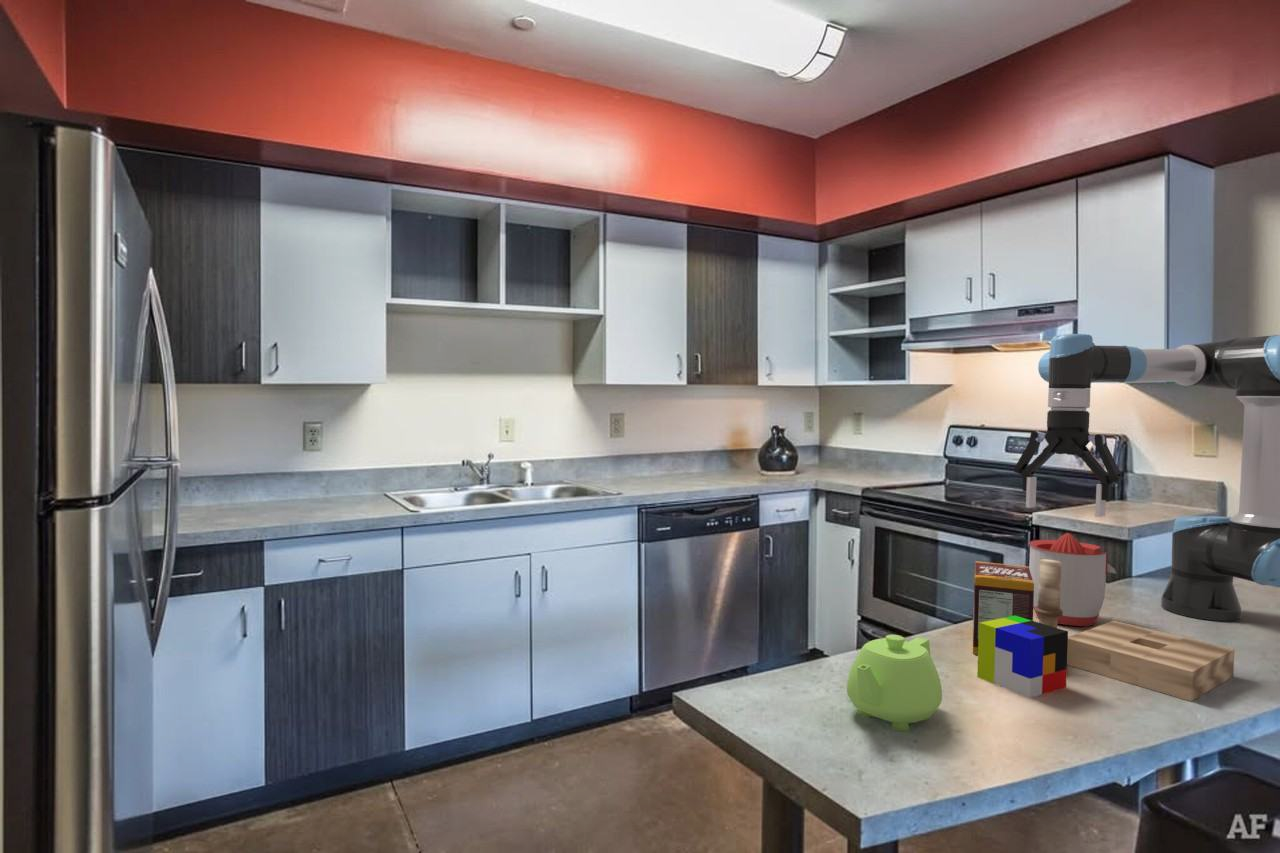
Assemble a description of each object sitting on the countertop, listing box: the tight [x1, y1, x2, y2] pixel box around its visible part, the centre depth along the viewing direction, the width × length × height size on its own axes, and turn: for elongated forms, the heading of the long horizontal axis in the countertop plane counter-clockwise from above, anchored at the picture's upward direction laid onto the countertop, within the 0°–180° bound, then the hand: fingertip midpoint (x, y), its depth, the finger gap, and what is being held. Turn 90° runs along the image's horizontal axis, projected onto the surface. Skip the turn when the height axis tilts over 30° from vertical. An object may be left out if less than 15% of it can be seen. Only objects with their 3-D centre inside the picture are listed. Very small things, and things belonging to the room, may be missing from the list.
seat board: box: [1067, 620, 1236, 702], centre depth 134 cm, size 20×20×5 cm
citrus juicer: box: [1028, 532, 1117, 628], centre depth 164 cm, size 16×17×20 cm
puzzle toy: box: [976, 616, 1069, 699], centre depth 128 cm, size 10×10×10 cm
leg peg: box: [1034, 559, 1063, 628], centre depth 153 cm, size 5×5×16 cm
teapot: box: [846, 634, 943, 733], centre depth 113 cm, size 20×13×13 cm
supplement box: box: [972, 560, 1034, 656], centre depth 146 cm, size 10×15×16 cm
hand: (1064, 511), depth 150 cm, fingers open, 13 cm apart
